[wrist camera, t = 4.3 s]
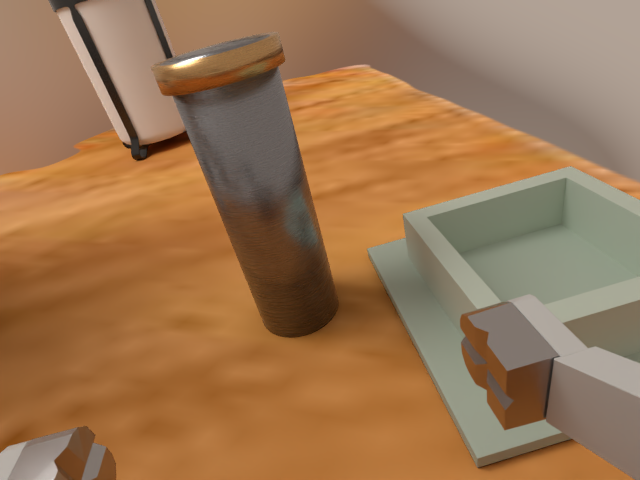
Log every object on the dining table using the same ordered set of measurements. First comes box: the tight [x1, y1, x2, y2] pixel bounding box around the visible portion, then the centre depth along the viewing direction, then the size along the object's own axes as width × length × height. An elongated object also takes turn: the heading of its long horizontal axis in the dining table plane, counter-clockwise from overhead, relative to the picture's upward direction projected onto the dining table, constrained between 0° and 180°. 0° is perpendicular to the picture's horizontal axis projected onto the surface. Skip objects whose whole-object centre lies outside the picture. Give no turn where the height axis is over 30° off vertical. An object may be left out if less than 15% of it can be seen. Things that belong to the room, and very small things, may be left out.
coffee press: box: [49, 0, 187, 160], centre depth 56 cm, size 17×16×30 cm
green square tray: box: [367, 166, 640, 468], centre depth 20 cm, size 14×14×4 cm
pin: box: [151, 32, 338, 337], centre depth 20 cm, size 5×5×14 cm
